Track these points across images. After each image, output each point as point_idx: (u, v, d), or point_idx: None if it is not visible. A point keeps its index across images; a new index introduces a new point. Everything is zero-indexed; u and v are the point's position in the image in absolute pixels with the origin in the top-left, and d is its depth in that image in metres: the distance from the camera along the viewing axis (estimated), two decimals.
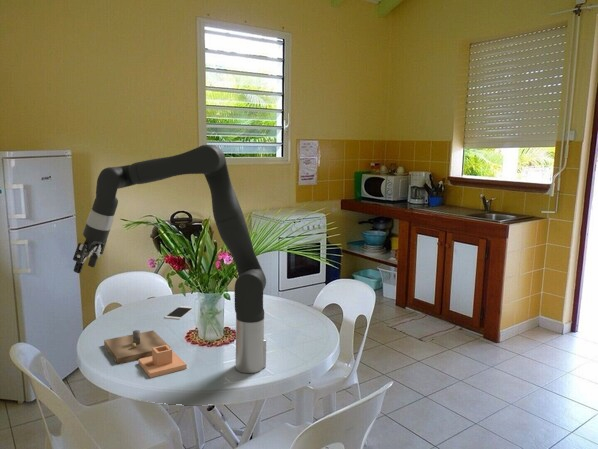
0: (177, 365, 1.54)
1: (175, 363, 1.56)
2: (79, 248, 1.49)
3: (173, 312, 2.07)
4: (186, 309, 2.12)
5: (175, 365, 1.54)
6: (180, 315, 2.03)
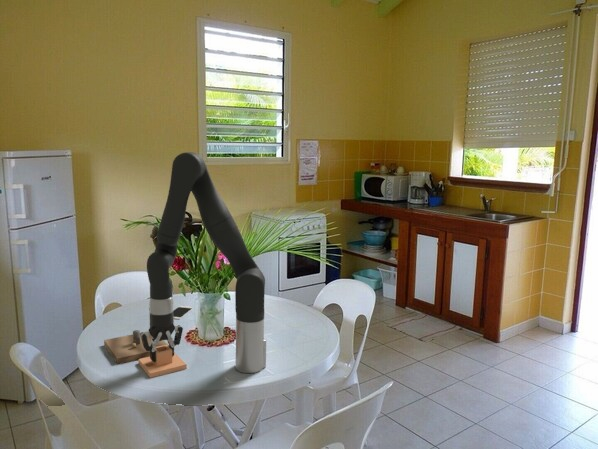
0: (177, 365, 1.54)
1: (175, 363, 1.56)
2: (141, 338, 1.52)
3: None
4: (186, 308, 2.12)
5: (175, 365, 1.54)
6: (180, 315, 2.03)
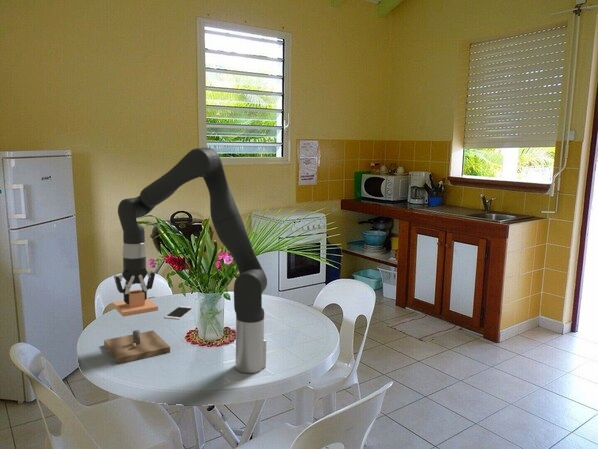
0: (148, 307, 1.65)
1: (147, 305, 1.66)
2: (115, 280, 1.62)
3: (173, 312, 2.07)
4: (186, 308, 2.12)
5: (147, 307, 1.65)
6: (180, 315, 2.03)
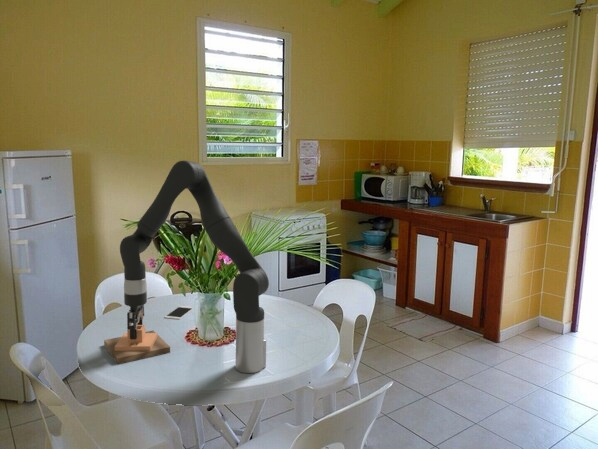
0: (153, 336, 1.73)
1: (148, 336, 1.73)
2: (129, 317, 1.61)
3: (173, 312, 2.07)
4: (186, 308, 2.12)
5: (152, 336, 1.72)
6: (180, 315, 2.03)
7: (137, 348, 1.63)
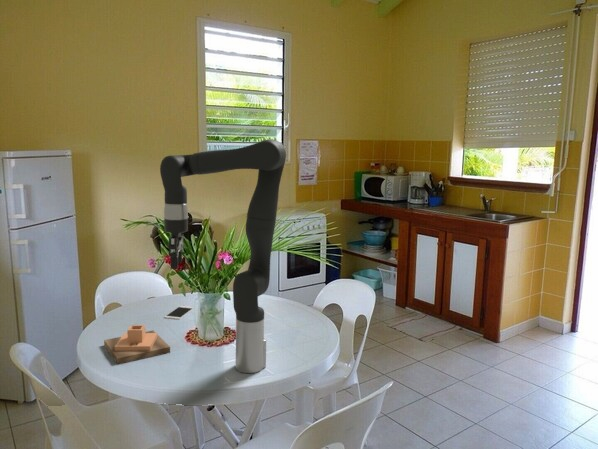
0: (153, 336, 1.73)
1: (148, 336, 1.73)
2: (171, 243, 1.49)
3: (173, 312, 2.07)
4: (186, 308, 2.12)
5: (152, 336, 1.72)
6: (180, 315, 2.03)
7: (137, 348, 1.63)
